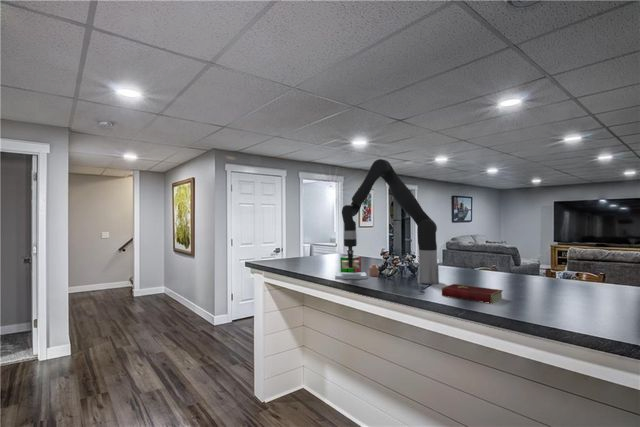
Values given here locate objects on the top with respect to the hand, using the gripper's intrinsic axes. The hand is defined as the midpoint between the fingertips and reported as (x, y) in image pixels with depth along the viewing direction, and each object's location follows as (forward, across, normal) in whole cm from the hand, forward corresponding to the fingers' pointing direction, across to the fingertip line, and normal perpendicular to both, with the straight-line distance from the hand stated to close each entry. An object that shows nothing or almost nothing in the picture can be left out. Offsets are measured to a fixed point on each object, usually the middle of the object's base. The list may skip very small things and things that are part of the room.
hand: (350, 266), depth 201 cm
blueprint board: (+6, 0, 0) cm, 6 cm away
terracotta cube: (+6, +6, -14) cm, 16 cm away
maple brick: (+1, 0, 0) cm, 1 cm away
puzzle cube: (+6, +17, 0) cm, 18 cm away
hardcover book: (+6, -52, -52) cm, 73 cm away
